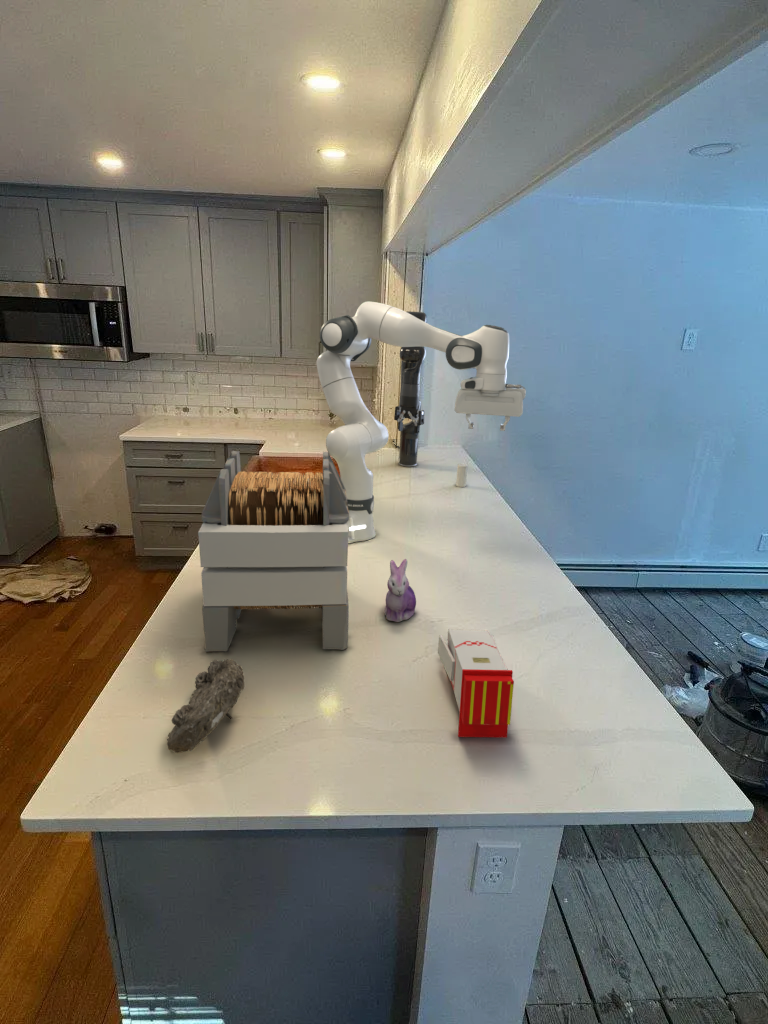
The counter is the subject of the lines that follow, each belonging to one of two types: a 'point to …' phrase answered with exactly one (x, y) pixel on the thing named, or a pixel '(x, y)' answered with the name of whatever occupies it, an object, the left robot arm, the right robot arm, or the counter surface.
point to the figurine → (399, 594)
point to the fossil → (206, 705)
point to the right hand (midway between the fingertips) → (408, 432)
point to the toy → (478, 682)
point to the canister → (461, 475)
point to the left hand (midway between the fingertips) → (486, 429)
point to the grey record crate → (274, 549)
